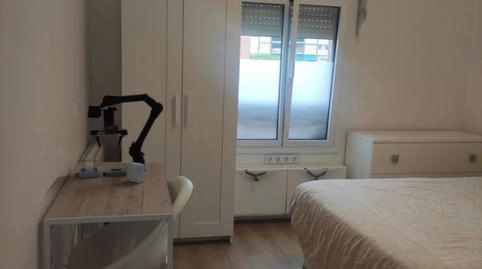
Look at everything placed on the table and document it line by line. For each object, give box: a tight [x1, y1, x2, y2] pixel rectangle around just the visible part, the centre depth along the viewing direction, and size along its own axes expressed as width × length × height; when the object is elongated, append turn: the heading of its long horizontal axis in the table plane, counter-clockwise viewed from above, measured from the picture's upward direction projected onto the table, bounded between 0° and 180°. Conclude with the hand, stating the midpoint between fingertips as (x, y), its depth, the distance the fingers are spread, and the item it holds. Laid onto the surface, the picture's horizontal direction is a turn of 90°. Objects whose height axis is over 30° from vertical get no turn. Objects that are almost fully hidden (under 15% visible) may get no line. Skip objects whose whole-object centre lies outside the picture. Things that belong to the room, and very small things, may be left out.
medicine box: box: [126, 161, 145, 184], centre depth 214 cm, size 8×4×9 cm, turn 58°
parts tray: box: [78, 166, 101, 179], centre depth 223 cm, size 10×12×2 cm
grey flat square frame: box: [104, 167, 127, 177], centre depth 227 cm, size 10×10×2 cm
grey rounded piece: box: [84, 157, 94, 172], centre depth 222 cm, size 4×4×8 cm
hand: (109, 148), depth 232 cm, fingers open, 9 cm apart
